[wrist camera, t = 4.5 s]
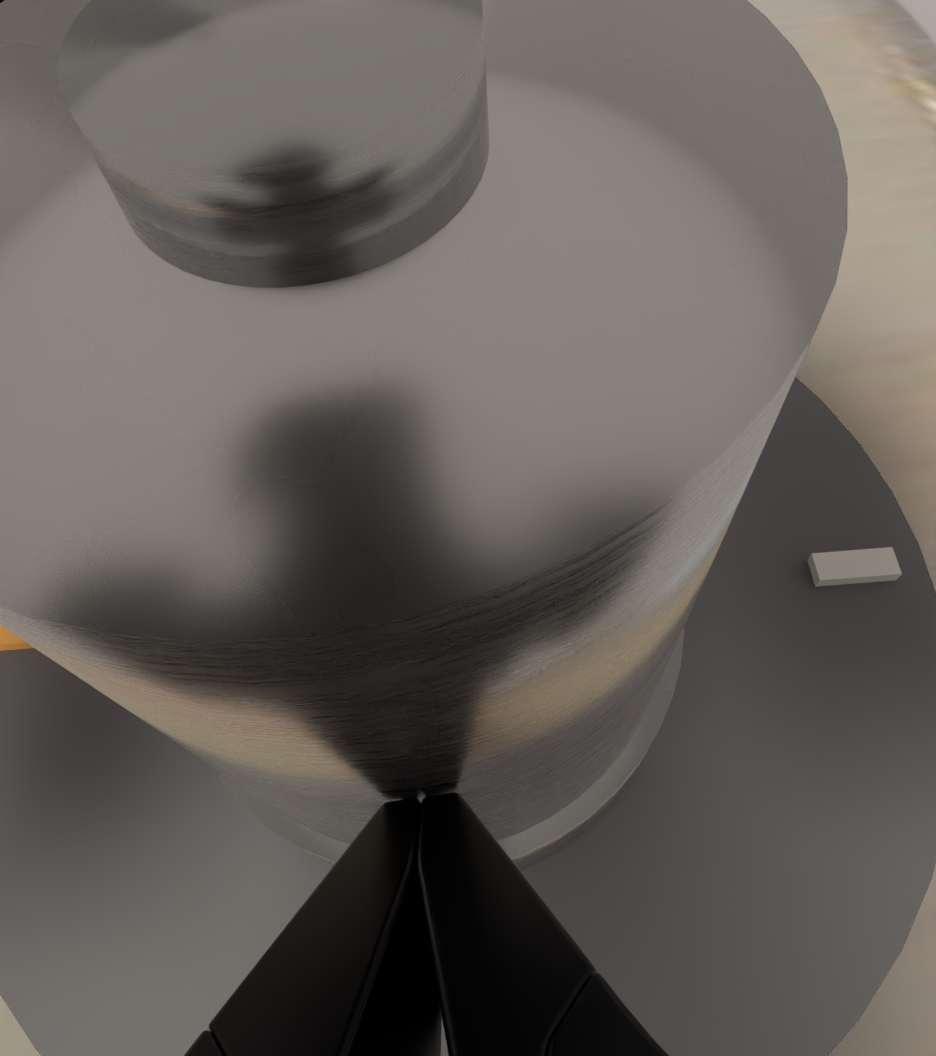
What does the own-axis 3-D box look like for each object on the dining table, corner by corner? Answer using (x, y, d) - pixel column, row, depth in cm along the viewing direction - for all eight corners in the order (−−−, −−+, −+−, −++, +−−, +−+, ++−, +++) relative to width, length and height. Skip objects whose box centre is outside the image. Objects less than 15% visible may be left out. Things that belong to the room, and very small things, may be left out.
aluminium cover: (764, 727, 15) (1320, 140, 4) (320, 994, 13) (-454, 1062, 3) (519, 396, 19) (507, -316, 9) (157, 569, 17) (-407, -49, 7)
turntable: (1182, 809, 14) (1229, 797, 14) (117, 1555, 11) (77, 1611, 10) (584, 185, 24) (586, 151, 23) (-104, 480, 20) (-135, 454, 19)
